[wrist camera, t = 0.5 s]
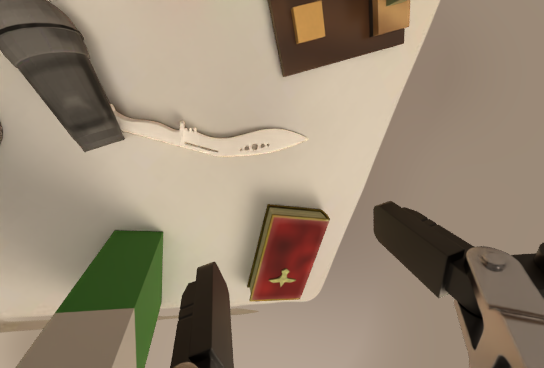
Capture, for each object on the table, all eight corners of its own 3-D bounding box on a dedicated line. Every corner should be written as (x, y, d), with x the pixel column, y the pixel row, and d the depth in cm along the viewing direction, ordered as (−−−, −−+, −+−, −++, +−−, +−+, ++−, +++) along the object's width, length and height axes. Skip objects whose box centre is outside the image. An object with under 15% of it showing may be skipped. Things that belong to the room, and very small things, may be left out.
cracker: (290, 9, 28) (293, 7, 28) (318, 2, 29) (321, 0, 28) (296, 44, 30) (298, 42, 29) (322, 37, 31) (325, 35, 30)
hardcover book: (322, 209, 44) (332, 220, 41) (295, 285, 52) (302, 300, 48) (267, 204, 41) (272, 215, 37) (247, 286, 48) (249, 302, 44)
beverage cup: (100, 146, 23) (-66, -123, 15) (55, 161, 25) (-110, -69, 17) (148, 131, 29) (48, -63, 21) (109, 144, 31) (6, -29, 24)
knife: (308, 132, 38) (312, 134, 36) (300, 163, 40) (304, 166, 38) (100, 100, 28) (94, 101, 27) (104, 143, 30) (99, 146, 29)
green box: (161, 302, 44) (110, 499, 23) (120, 305, 42) (21, 524, 21) (163, 231, 38) (95, 412, 17) (114, 230, 36) (-34, 434, 15)
